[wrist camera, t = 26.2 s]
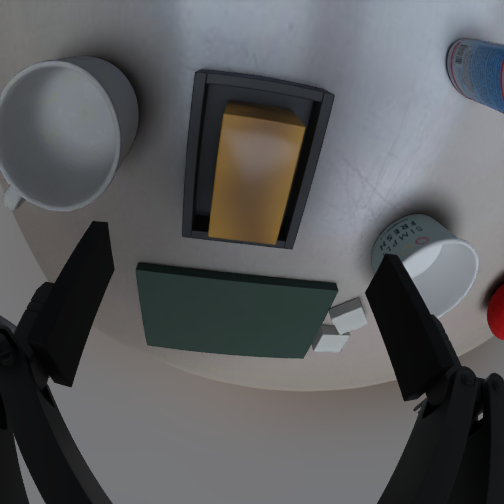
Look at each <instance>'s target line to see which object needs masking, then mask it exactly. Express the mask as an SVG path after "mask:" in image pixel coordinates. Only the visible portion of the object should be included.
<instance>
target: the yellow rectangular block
mask: <svg viewBox="0 0 504 504" xmlns="http://www.w3.org/2000/svg"><path fill="white" fill-rule="evenodd" d="M304 132H305V126H304V125H303V123H302V122H301V121H300V119H299V118H298V117H297V116H296V114H295V113H294V112H293V110H290V109H285V108H279V107H274V106H268V105H262V104H256V103H250V102H243V101H235V100H228V101H227V104H226V107H225V110H224V113H223V118H222V125H221V132H220V140H219V147H218V154H217V162H216V170H215V178H214V186H213V195H212V204H211V213H210V222H209V231H208V237H214V238H223V239H231V240H239V241H248V242H256V243H264V244H272V245H276V242H277V238H278V235H279V231H280V227H281V223H282V219H283V216H284V212H285V208H286V204H287V200H288V196H289V192H290V188H291V184H292V181H293V177H294V173H295V169H296V165H297V161H298V157H299V153H300V149H301V145H302V141H303V136H304Z"/></svg>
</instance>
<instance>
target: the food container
mask: <svg viewBox="0 0 504 504" xmlns="http://www.w3.org/2000/svg"><path fill="white" fill-rule="evenodd" d="M385 253H387V254H395V255H398V256H399V258H400V260H401V261H402V263H403V265H404V267H405V268H406V270H407V272H408V273H409V275H410V277H411V279H412V280H413V282H414V284H415V286H416V287H417V289H418V291H419V293H420V295H421V297H422V298H423V300H424V302H425V304H426V306H427V308H428V310H429V312H430V314H434V315H435V316H436V318H437V319H438V318H439V317H441V316H443V315H444V314H446V313H447V312H449V311H450V310H451V309H452V308H454V307H455V306H456V305H457V304H458V303H459V302H460V301H461V300H462V299H463V298H464V296H465V295H466V294H467V292H468V291H469V290H470V288H471V286H472V284H473V282H474V280H475V278H476V275H477V272H478V266H479V260H478V255H477V252H476V250H475V248H474V247H473V246H472V245H471V244H470V243H469V242H467V241H465V240H462V239H458V238H457V237H456V236H455V235H453V234H452V233H451V232H450V231H448V230H447V229H446V228H445V227H443V226H442V225H441V224H439V223H438V222H437V221H435V220H434V219H433V218H431V217H429V216H427V215H422V214H414V215H409V216H405V217H403V218H401V219H399V220H397V221H395V222H394V223H392V224H391V225H390V226H388V227H387V228H386V229H385V230H384V231H383V232H382V233H381V235H380V236H379V237H378V239H377V241H376V243H375V245H374V247H373V250H372V256H371V260H372V266H373V270H374V275H375V273H376V271H377V269H378V267H379V265H380V263H381V261H382V259H383V257H384V255H385Z"/></svg>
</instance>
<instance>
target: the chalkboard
mask: <svg viewBox="0 0 504 504" xmlns="http://www.w3.org/2000/svg"><path fill="white" fill-rule="evenodd" d="M136 277H137V285H138V292H139V299H140V306H141V312H142V319H143V325H144V330H145V336H146V342H147V345H150V346H157V347H164V348H172V349H179V350H188V351H196V352H206V353H216V354H227V355H240V356H254V357H273V358H302V359H303V358H304V356H305V355H306V353H307V351H308V349H309V347H310V346H311V344H312V342H313V340H314V338H315V336H316V334H317V332H318V330H319V329H320V327H321V325H322V323H323V321H324V319H325V317H326V315H327V313H328V311H329V309H330V307H331V305H332V303H333V301H334V299H335V297H336V295H337V293H338V288H337V285H336V283H325V282H314V281H303V280H293V279H282V278H272V277H262V276H252V275H243V274H233V273H224V272H215V271H206V270H197V269H188V268H180V267H171V266H163V265H155V264H147V263H138V265H137V268H136Z"/></svg>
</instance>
